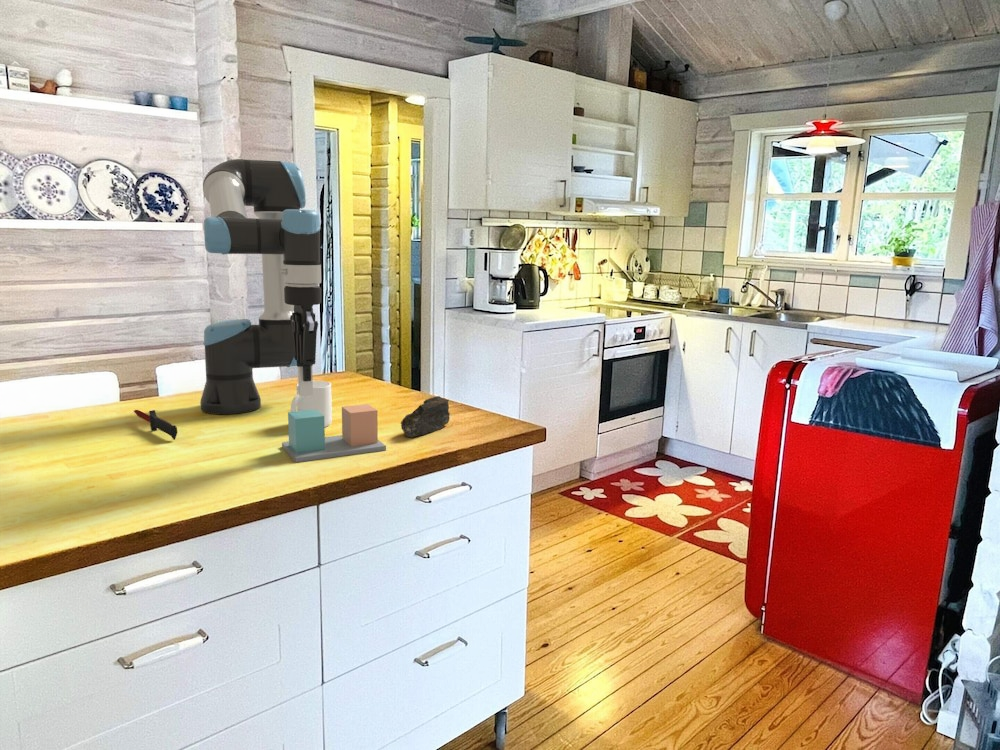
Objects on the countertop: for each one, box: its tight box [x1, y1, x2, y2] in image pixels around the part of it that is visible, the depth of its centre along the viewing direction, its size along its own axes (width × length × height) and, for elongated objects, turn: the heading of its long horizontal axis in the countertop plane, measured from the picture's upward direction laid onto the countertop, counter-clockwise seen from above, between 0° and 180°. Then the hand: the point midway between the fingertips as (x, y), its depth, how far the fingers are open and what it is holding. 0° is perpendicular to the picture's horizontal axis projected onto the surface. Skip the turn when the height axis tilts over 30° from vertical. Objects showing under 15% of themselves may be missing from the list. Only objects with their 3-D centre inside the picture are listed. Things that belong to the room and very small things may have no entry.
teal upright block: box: [287, 409, 326, 453], centre depth 155 cm, size 6×6×8 cm
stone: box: [400, 395, 451, 438], centre depth 174 cm, size 7×8×15 cm
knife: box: [133, 409, 178, 441], centre depth 168 cm, size 24×2×5 cm, turn 47°
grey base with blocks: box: [281, 403, 387, 463], centre depth 158 cm, size 12×20×9 cm, turn 120°
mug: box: [290, 380, 333, 428], centre depth 175 cm, size 12×8×10 cm
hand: (305, 394), depth 153 cm, fingers closed
